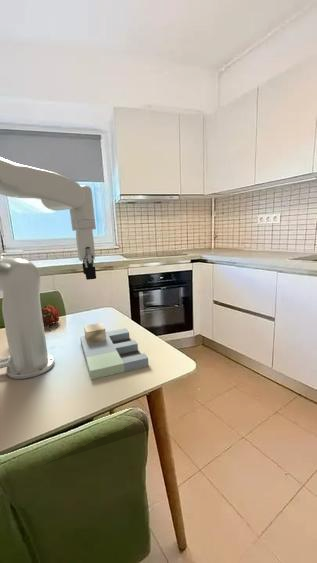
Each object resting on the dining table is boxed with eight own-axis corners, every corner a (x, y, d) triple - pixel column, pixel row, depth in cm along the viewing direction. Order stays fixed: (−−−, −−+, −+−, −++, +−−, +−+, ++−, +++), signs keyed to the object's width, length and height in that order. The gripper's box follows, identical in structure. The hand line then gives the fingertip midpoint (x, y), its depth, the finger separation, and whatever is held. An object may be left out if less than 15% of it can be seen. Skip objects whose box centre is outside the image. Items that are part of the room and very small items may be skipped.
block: (87, 343, 88) (86, 332, 87) (85, 336, 93) (83, 325, 92) (106, 340, 90) (105, 328, 89) (102, 333, 95) (101, 322, 94)
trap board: (90, 379, 72) (89, 371, 72) (81, 343, 94) (80, 336, 94) (148, 365, 78) (148, 357, 77) (126, 334, 100) (126, 328, 99)
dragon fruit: (50, 333, 109) (47, 327, 119) (66, 317, 111) (62, 313, 122) (33, 318, 106) (32, 314, 116) (50, 302, 108) (48, 299, 119)
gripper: (70, 225, 97) (76, 273, 101) (73, 226, 81) (80, 283, 85) (92, 224, 100) (97, 270, 104) (98, 225, 84) (104, 280, 88)
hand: (89, 276), depth 95 cm, fingers open, 9 cm apart
